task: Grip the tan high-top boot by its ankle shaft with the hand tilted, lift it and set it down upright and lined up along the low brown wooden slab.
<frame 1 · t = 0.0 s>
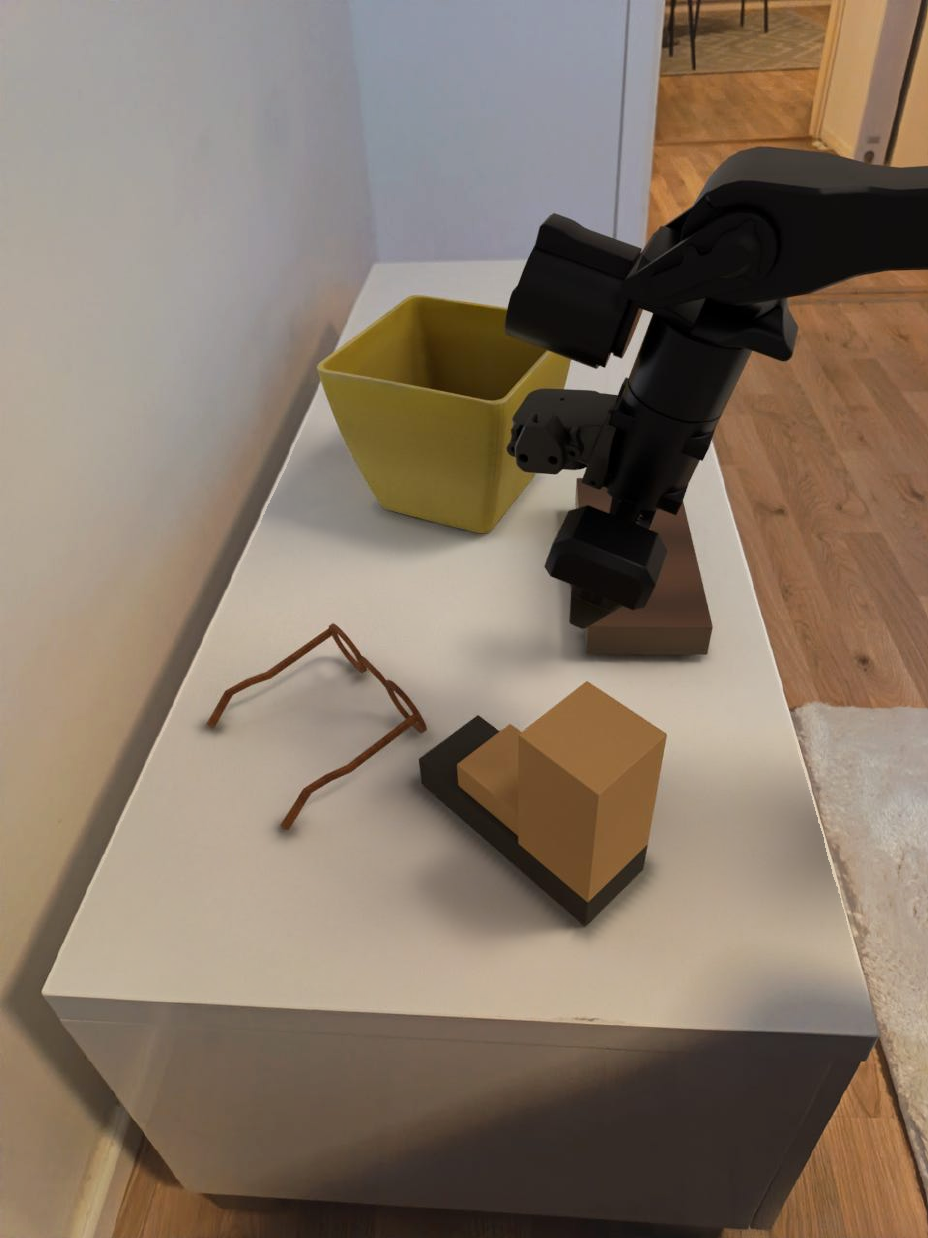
hand: (594, 583, 61), 13 cm above the table, tool pointing down, fingers open, 9 cm apart
brown wooden slab: (633, 578, 81), on the table
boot: (580, 869, 59), on the table
flower pot: (459, 492, 94), on the table
glasses: (317, 736, 69), on the table
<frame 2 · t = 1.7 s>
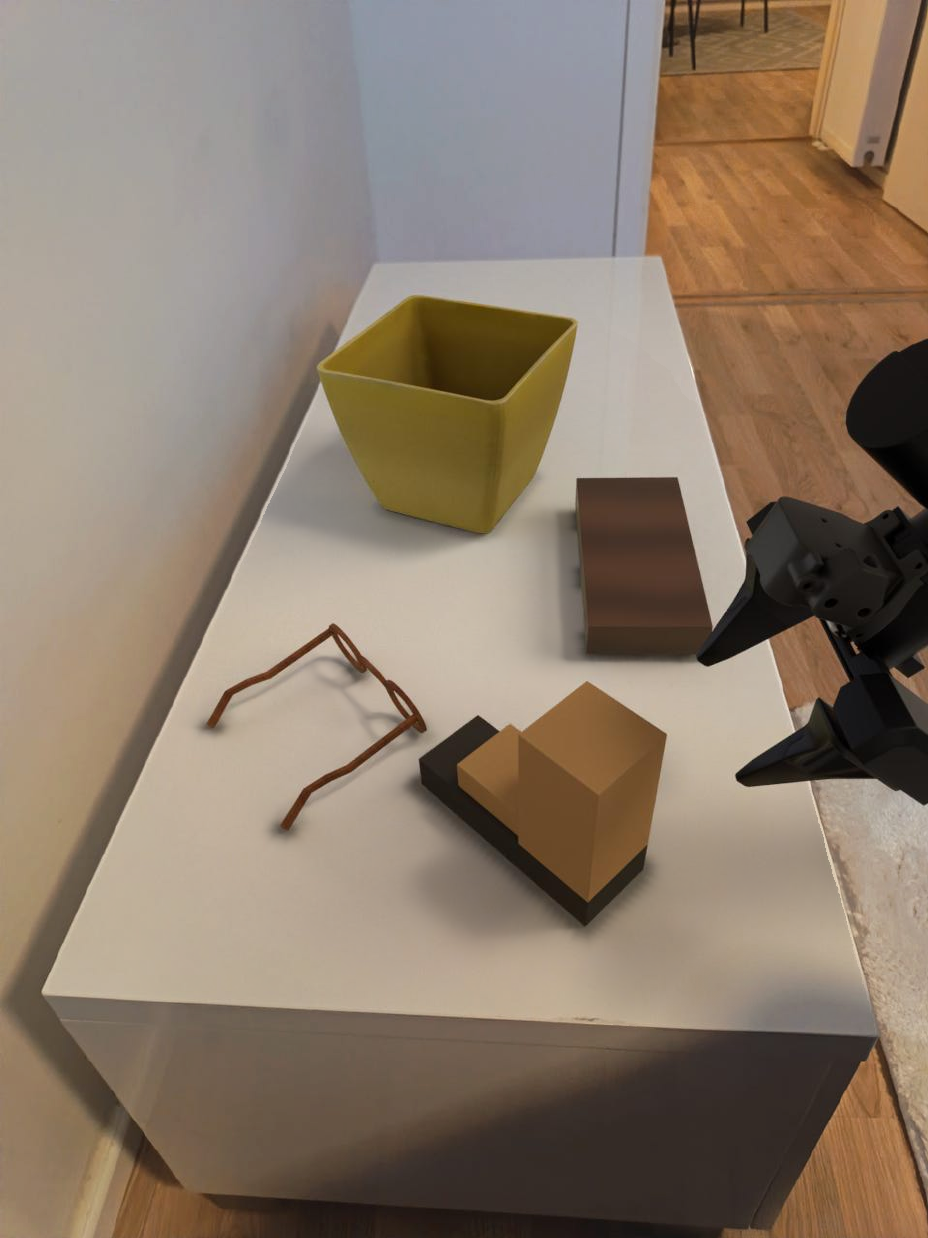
hand: (719, 717, 51), 13 cm above the table, tool tilted 40°, fingers open, 9 cm apart
nothing on the table moved.
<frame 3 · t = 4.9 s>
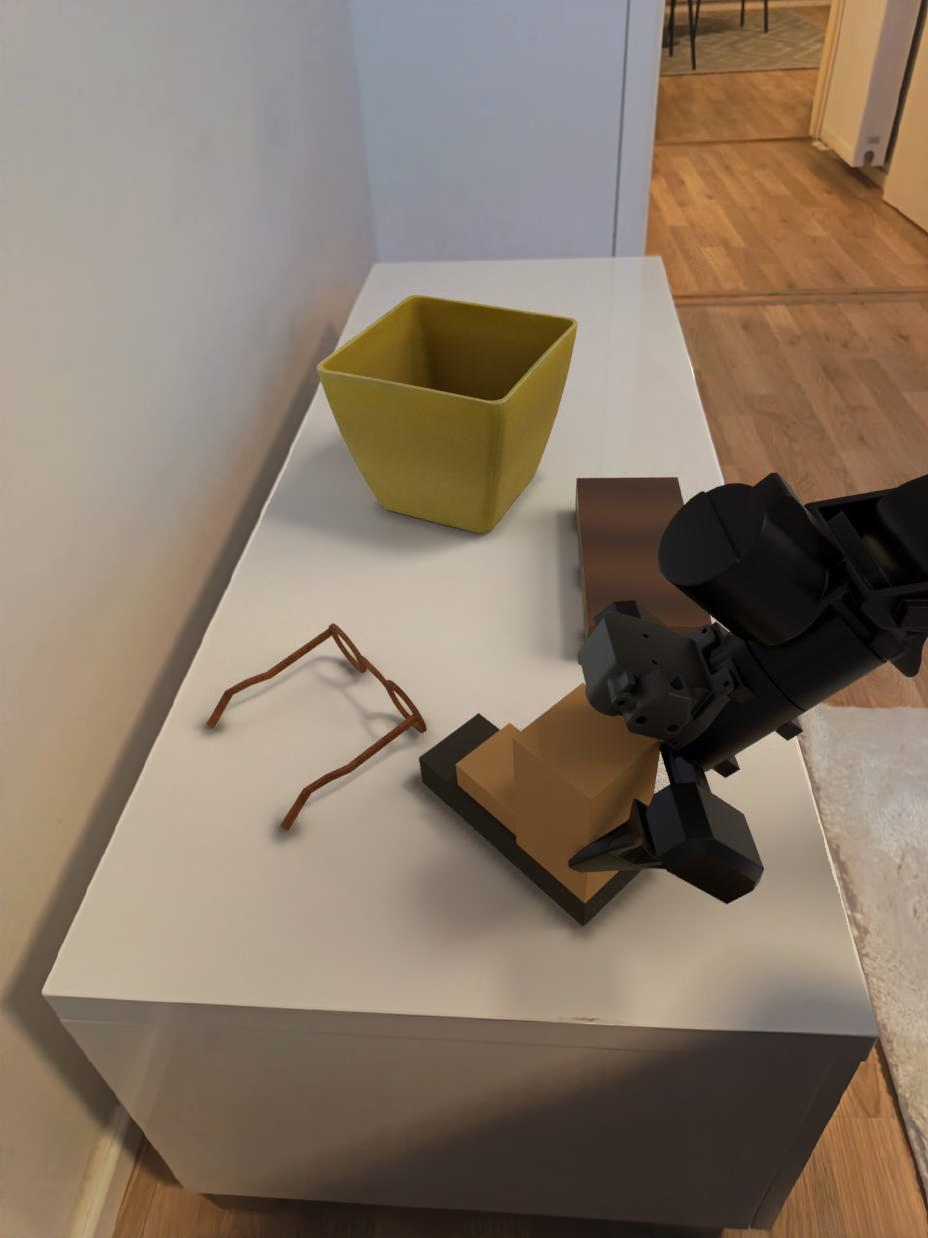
hand: (561, 805, 54), 8 cm above the table, tool tilted 45°, fingers closed on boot, 8 cm apart
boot: (579, 868, 59), on the table, touching gripper
everything else where it was.
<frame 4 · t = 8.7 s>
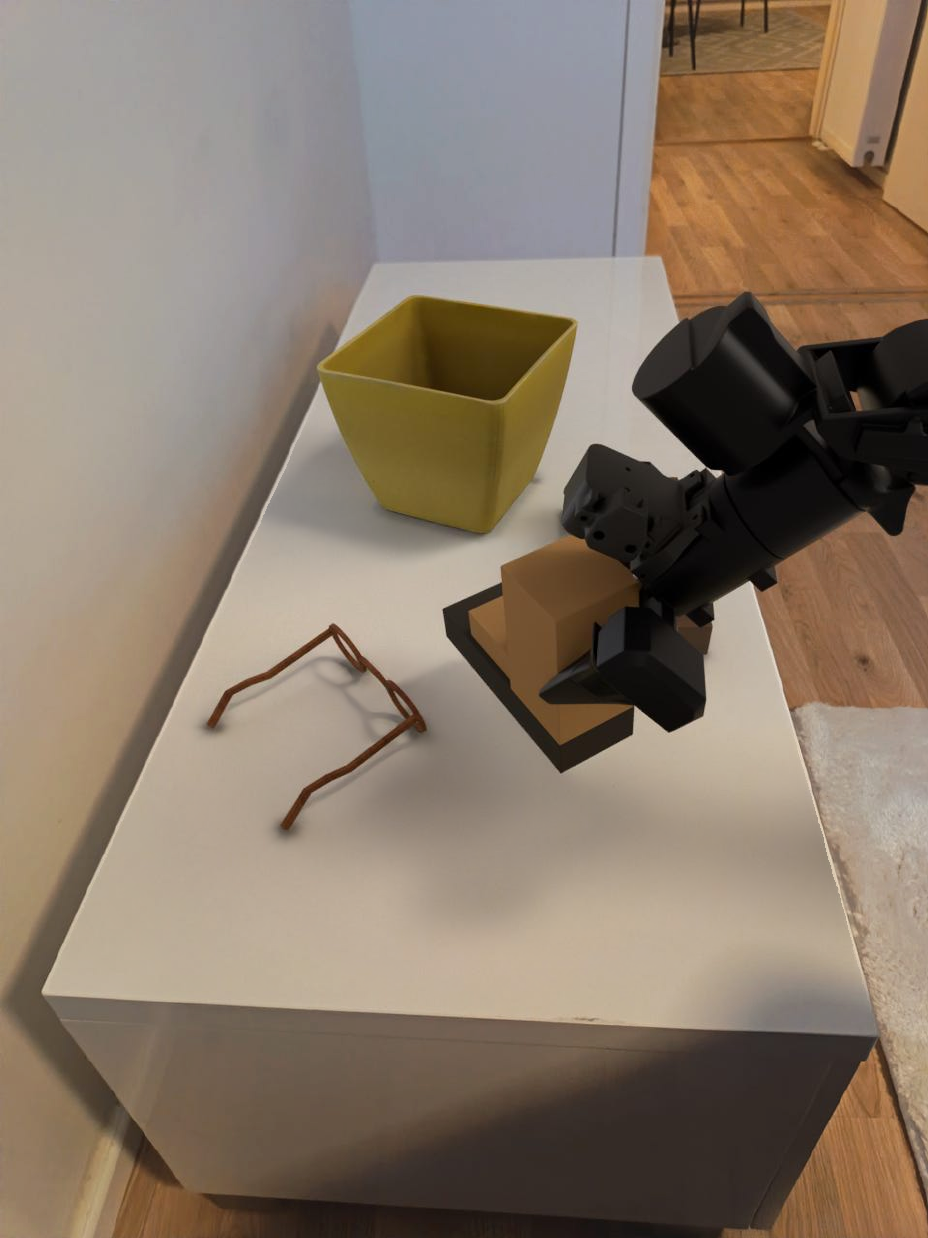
hand: (549, 648, 56), 13 cm above the table, tool tilted 45°, fingers closed on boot, 8 cm apart
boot: (572, 725, 61), point 6 cm above the table, touching gripper
everything else where it was.
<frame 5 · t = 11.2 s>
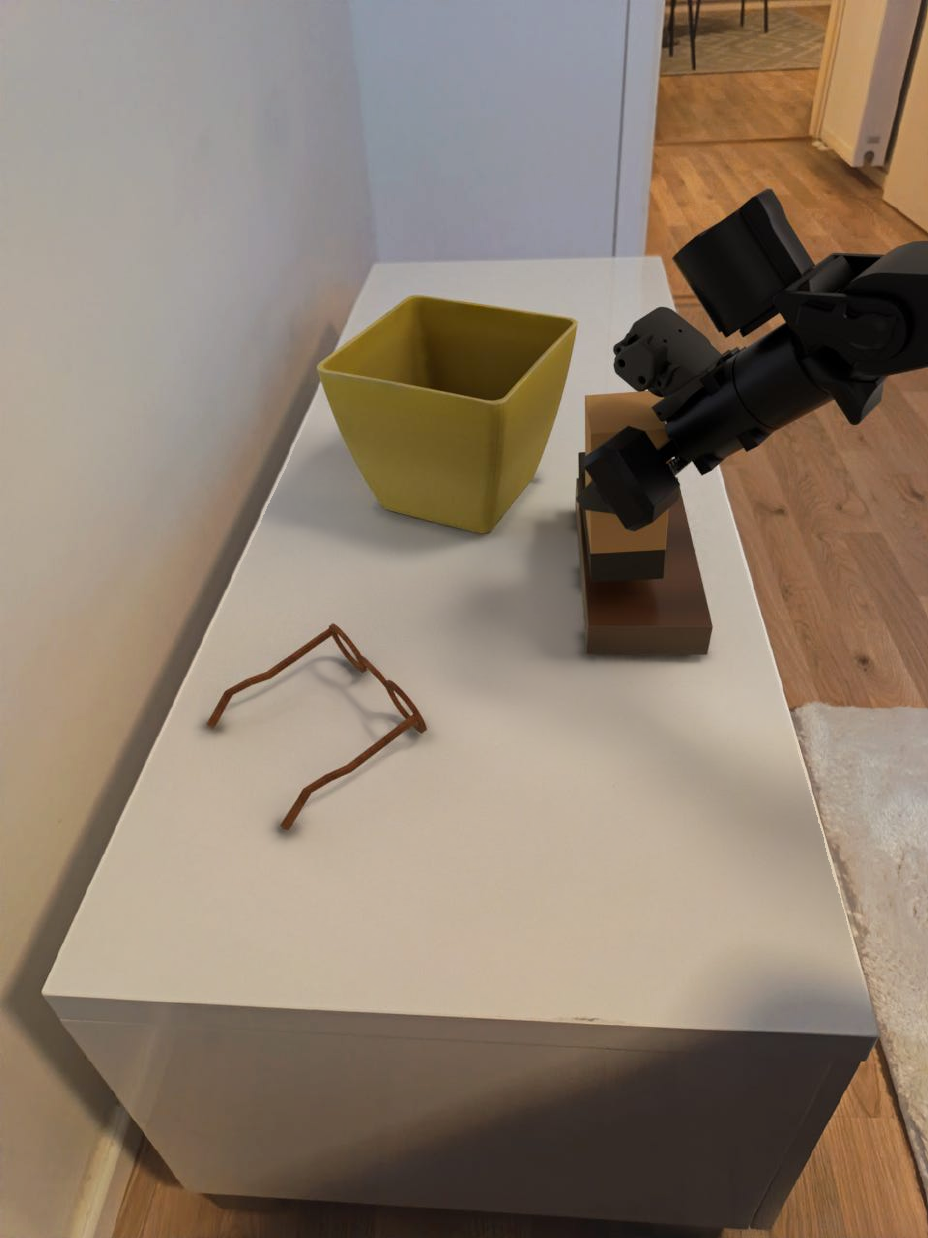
hand: (611, 478, 70), 13 cm above the table, tool tilted 45°, fingers closed on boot, 8 cm apart
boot: (623, 558, 74), point 6 cm above the table, touching gripper
everything else where it was.
when the fingers open (12 cm above the table, at t = 13.1 s): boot stays where it is, resting on brown wooden slab.
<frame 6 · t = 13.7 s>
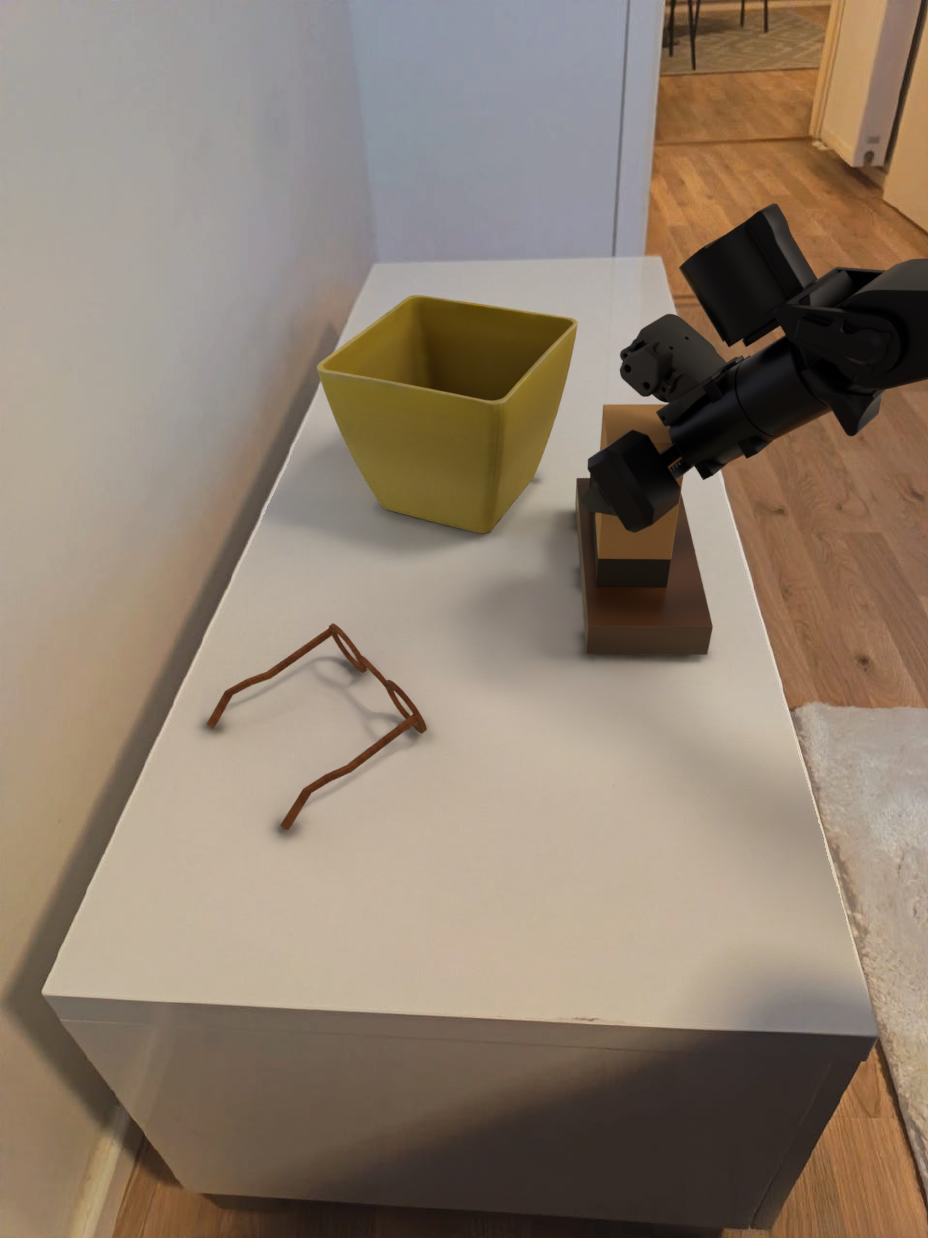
hand: (617, 479, 72), 12 cm above the table, tool tilted 45°, fingers open, 9 cm apart
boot: (629, 565, 76), point 4 cm above the table, touching brown wooden slab
everything else where it was.
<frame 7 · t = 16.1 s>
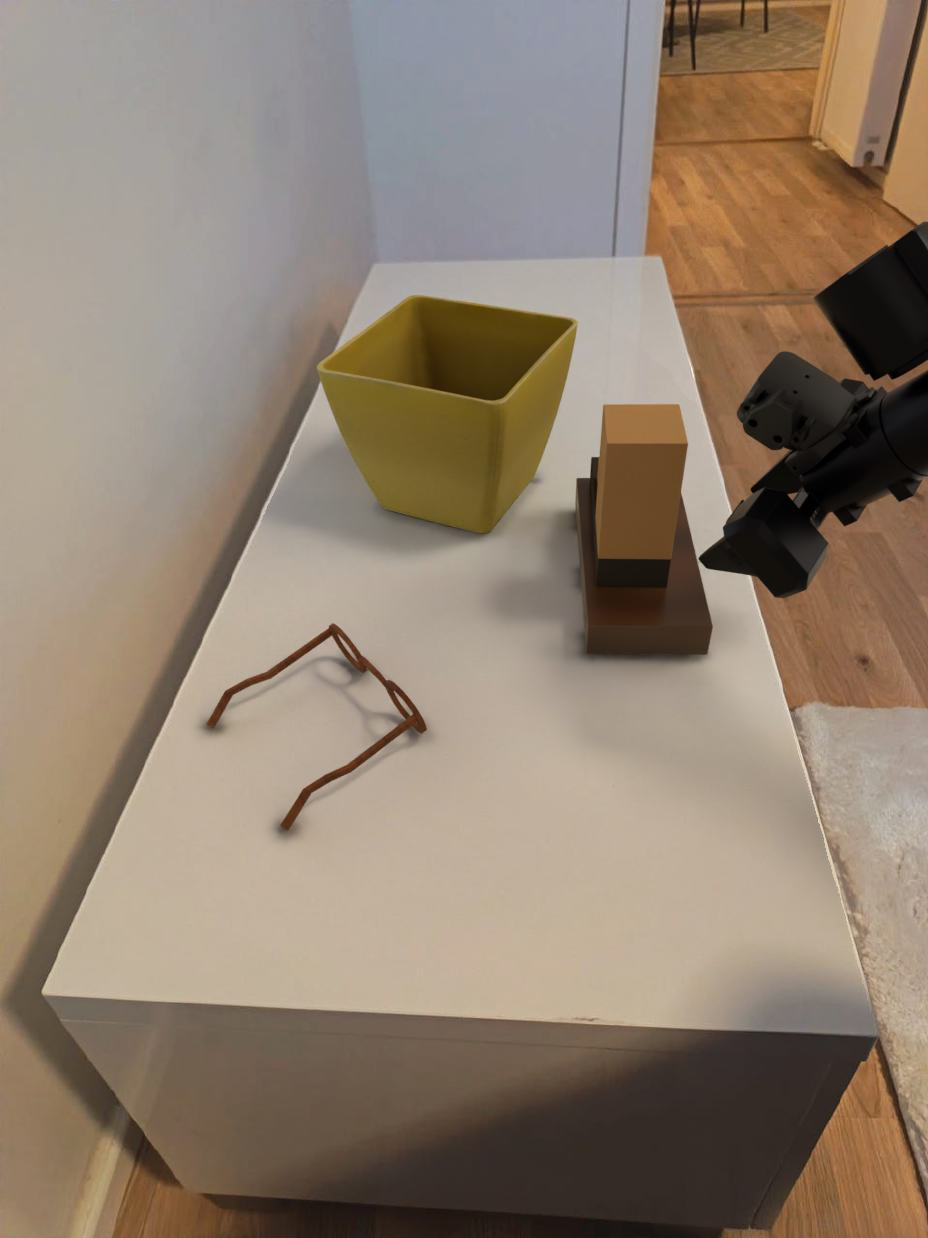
hand: (729, 526, 66), 12 cm above the table, tool tilted 40°, fingers open, 9 cm apart
nothing on the table moved.
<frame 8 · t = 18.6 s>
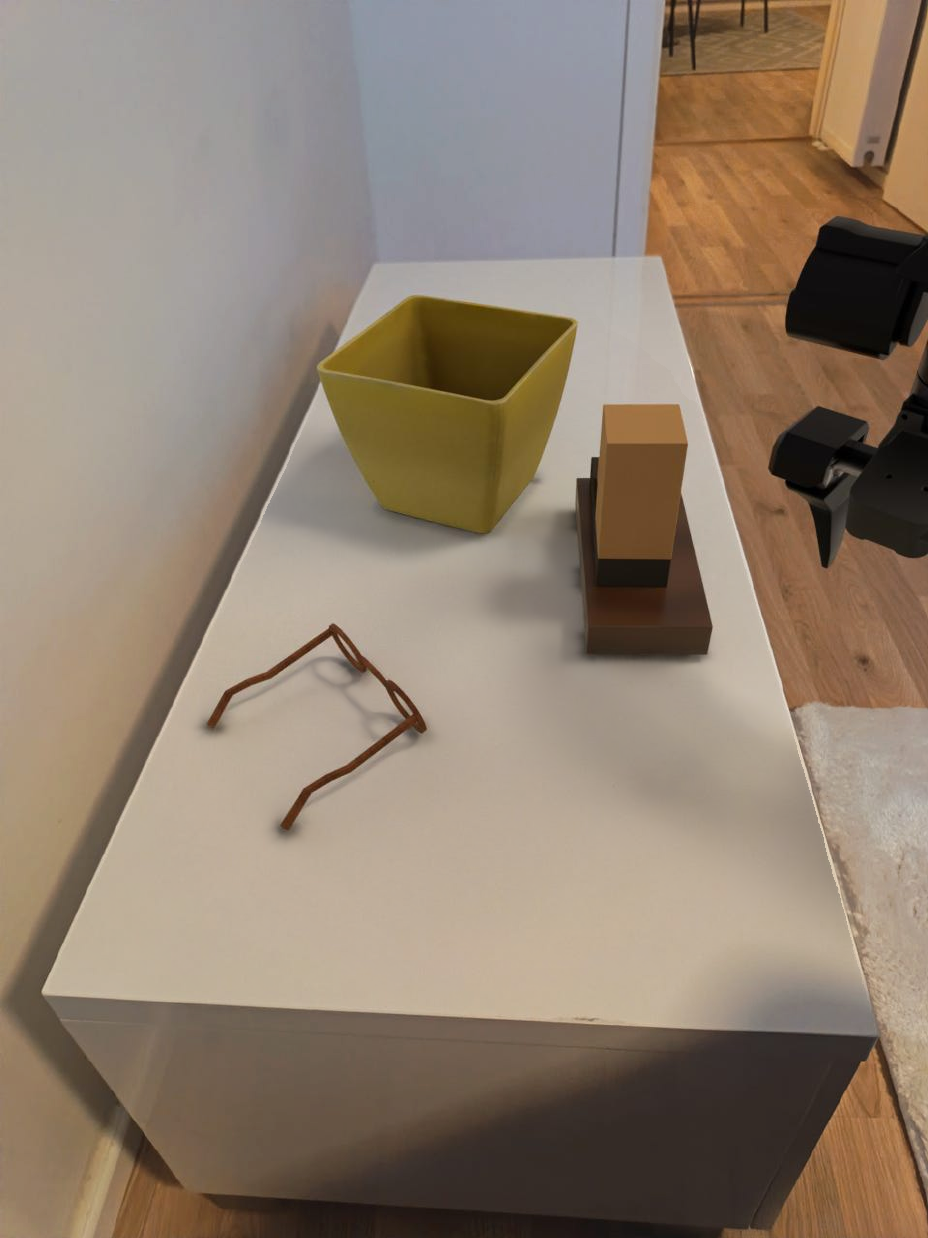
hand: (892, 592, 59), 13 cm above the table, tool pointing down, fingers open, 9 cm apart
nothing on the table moved.
at the end: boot inside the target area on the brown wooden slab (0.5 cm from its centre), point 4.0 cm above the brown wooden slab's base; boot tilted 0°; the gripper is holding nothing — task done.
